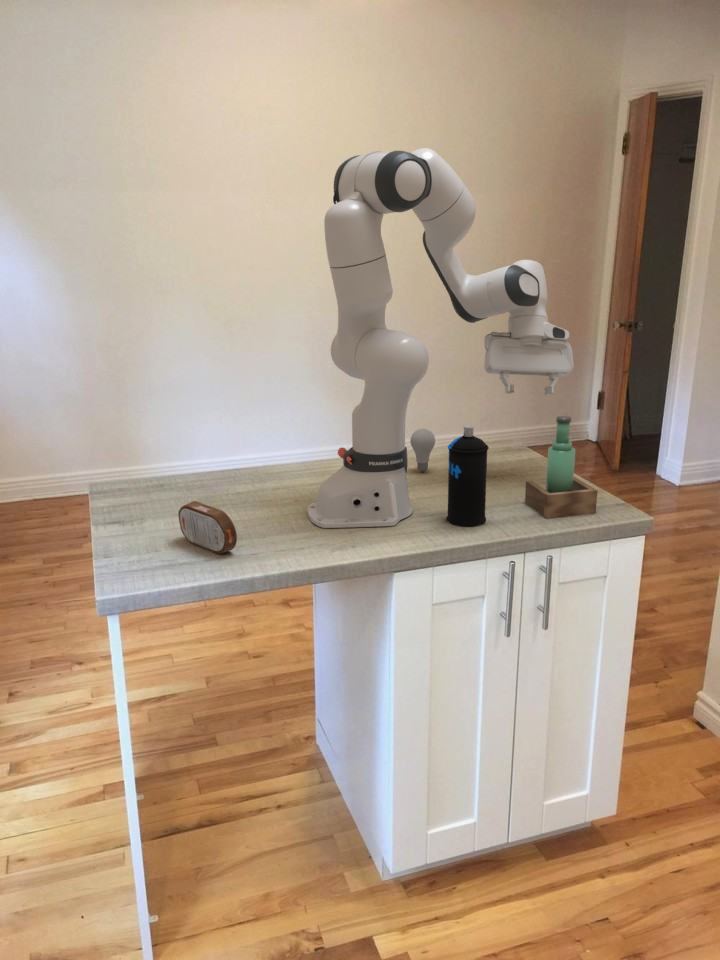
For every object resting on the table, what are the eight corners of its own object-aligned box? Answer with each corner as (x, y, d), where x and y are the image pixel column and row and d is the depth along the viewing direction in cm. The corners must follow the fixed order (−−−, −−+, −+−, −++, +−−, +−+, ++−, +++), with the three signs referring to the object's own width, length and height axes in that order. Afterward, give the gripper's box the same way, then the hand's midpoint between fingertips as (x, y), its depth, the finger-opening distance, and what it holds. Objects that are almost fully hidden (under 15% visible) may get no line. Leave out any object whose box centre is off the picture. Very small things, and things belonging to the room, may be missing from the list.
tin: (239, 554, 148) (236, 512, 146) (226, 560, 146) (223, 517, 143) (190, 536, 158) (187, 496, 155) (177, 540, 156) (174, 500, 153)
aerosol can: (485, 513, 167) (488, 421, 161) (487, 527, 159) (490, 431, 153) (446, 512, 168) (447, 421, 162) (446, 526, 160) (448, 431, 154)
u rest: (546, 518, 164) (547, 495, 162) (524, 502, 173) (526, 481, 172) (595, 512, 166) (597, 490, 165) (572, 497, 176) (573, 476, 174)
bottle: (552, 512, 167) (557, 421, 161) (540, 503, 172) (545, 415, 166) (576, 509, 168) (582, 419, 162) (563, 501, 174) (569, 413, 168)
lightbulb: (422, 466, 201) (423, 424, 197) (439, 471, 196) (440, 429, 193) (405, 471, 197) (405, 428, 194) (422, 476, 192) (422, 433, 189)
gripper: (489, 327, 173) (490, 389, 172) (576, 332, 177) (577, 392, 176) (479, 335, 179) (480, 395, 178) (563, 339, 183) (565, 398, 182)
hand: (529, 393), depth 177 cm, fingers open, 8 cm apart
